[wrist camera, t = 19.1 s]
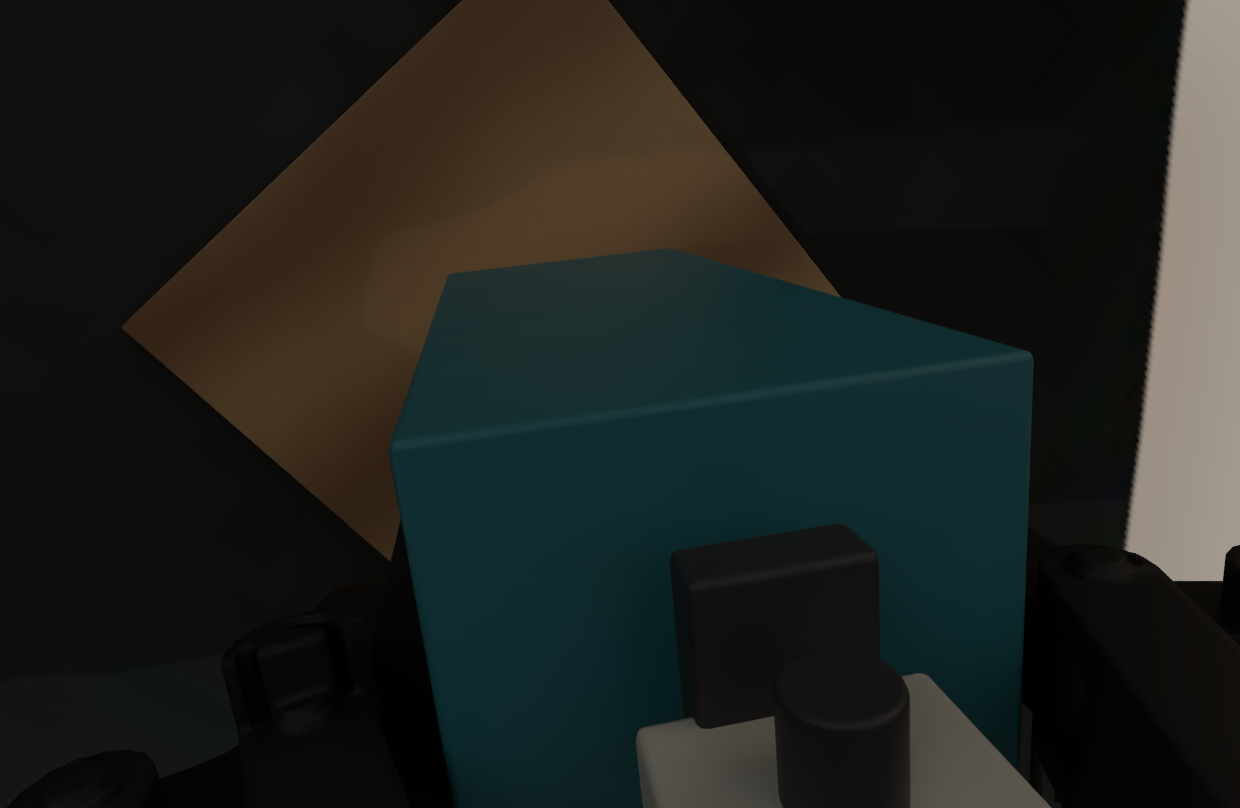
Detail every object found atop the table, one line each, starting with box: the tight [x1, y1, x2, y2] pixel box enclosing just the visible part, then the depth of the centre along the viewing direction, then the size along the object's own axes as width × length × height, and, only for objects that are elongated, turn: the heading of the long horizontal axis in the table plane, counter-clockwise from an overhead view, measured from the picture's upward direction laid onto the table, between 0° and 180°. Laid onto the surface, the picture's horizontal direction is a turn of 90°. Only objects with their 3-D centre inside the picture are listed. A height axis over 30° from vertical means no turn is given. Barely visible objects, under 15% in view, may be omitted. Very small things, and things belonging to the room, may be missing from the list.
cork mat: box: [121, 0, 840, 561], centre depth 27 cm, size 20×17×1 cm
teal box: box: [388, 248, 1051, 808], centre depth 14 cm, size 18×6×10 cm
